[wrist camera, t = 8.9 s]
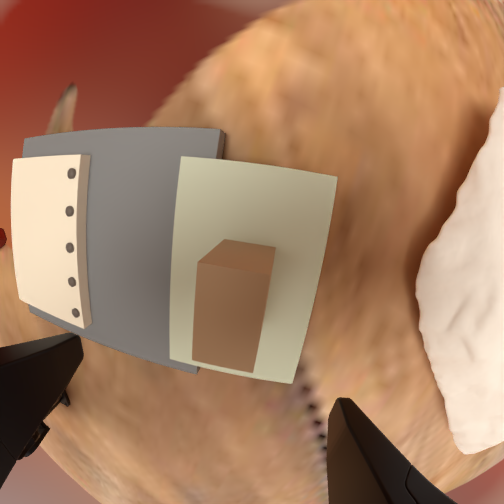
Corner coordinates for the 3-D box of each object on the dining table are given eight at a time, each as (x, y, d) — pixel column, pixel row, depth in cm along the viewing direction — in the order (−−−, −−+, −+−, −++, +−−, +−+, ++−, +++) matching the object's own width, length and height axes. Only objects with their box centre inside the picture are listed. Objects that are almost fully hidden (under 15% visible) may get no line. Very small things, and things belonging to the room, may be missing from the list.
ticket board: (201, 364, 22) (191, 385, 19) (38, 306, 24) (21, 316, 21) (225, 133, 17) (214, 124, 14) (35, 139, 19) (14, 138, 16)
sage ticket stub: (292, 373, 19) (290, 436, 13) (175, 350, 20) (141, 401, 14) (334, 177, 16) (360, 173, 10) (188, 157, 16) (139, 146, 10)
